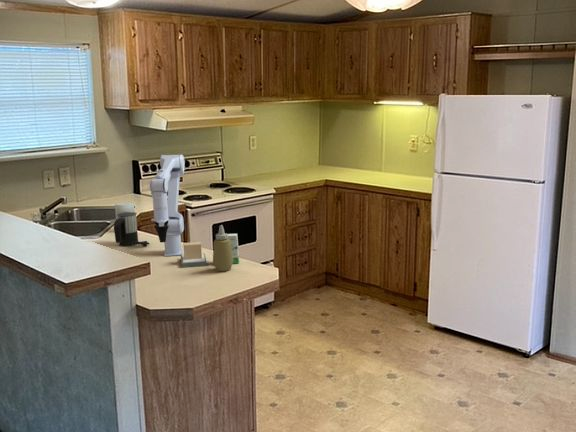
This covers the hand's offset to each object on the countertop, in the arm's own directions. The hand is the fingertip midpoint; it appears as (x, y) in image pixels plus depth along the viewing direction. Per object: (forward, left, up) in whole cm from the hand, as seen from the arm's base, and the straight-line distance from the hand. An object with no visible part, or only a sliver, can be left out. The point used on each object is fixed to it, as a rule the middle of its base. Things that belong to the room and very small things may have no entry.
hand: (162, 240), depth 259 cm
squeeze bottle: (+17, +23, -10) cm, 30 cm away
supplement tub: (-70, -19, -10) cm, 73 cm away
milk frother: (-37, -14, -10) cm, 41 cm away
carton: (+2, +12, -8) cm, 14 cm away
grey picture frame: (+2, +12, -10) cm, 16 cm away
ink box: (+7, +26, -10) cm, 29 cm away
